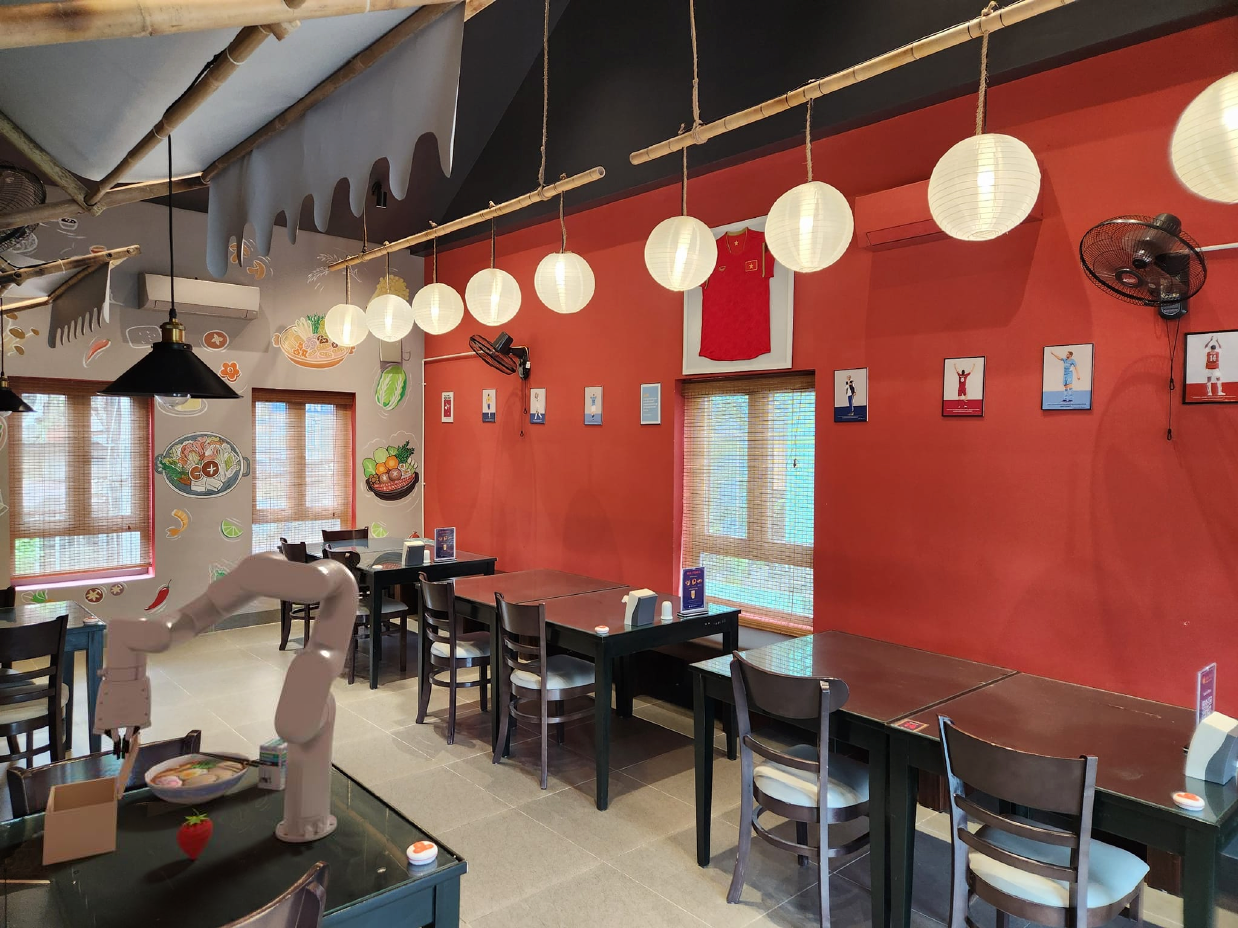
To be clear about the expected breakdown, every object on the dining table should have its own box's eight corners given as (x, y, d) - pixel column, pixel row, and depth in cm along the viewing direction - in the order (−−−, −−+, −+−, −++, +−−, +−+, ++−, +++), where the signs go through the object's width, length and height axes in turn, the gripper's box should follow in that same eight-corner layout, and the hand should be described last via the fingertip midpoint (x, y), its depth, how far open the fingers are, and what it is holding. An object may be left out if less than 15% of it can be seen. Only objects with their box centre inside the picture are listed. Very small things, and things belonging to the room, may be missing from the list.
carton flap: (118, 798, 156) (120, 799, 156) (138, 742, 158) (140, 743, 158) (118, 773, 169) (121, 773, 169) (137, 722, 171) (139, 722, 171)
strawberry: (167, 867, 150) (169, 816, 150) (192, 848, 157) (194, 800, 157) (195, 869, 149) (197, 818, 149) (219, 850, 157) (221, 802, 157)
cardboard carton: (115, 850, 156) (117, 801, 156) (42, 865, 149) (44, 814, 149) (116, 820, 169) (117, 775, 169) (49, 832, 162) (51, 786, 163)
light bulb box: (280, 791, 187) (282, 747, 187) (256, 788, 188) (258, 745, 188) (306, 774, 197) (307, 733, 198) (283, 772, 199) (285, 731, 199)
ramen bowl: (116, 807, 176) (117, 772, 176) (203, 773, 197) (204, 741, 197) (192, 828, 166) (193, 791, 166) (274, 790, 187) (275, 757, 188)
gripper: (83, 680, 156) (77, 769, 156) (166, 673, 165) (161, 757, 164) (84, 672, 163) (79, 757, 162) (164, 665, 171) (160, 746, 170)
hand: (120, 757), depth 163 cm, fingers closed
